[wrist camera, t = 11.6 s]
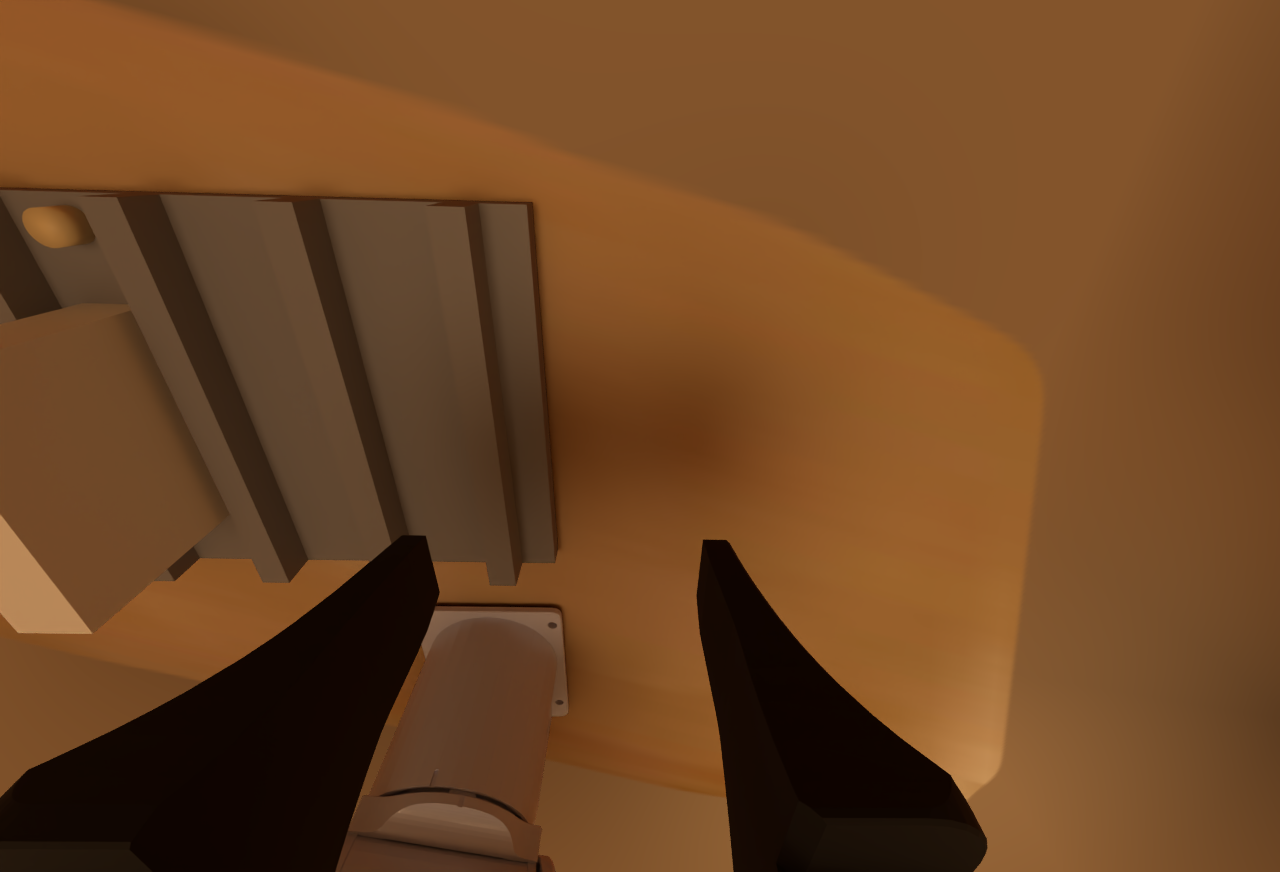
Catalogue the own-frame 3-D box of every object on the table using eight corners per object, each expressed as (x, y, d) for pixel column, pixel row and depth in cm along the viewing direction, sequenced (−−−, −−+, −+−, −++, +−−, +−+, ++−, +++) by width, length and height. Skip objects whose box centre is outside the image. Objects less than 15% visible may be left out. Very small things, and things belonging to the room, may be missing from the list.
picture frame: (242, 503, 22) (92, 633, 16) (185, 502, 22) (14, 633, 16) (150, 304, 18) (-104, 379, 12) (79, 303, 18) (-214, 377, 12)
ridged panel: (558, 549, 25) (550, 586, 23) (158, 543, 25) (112, 580, 22) (532, 202, 17) (517, 208, 15) (-55, 185, 17) (-157, 189, 15)
